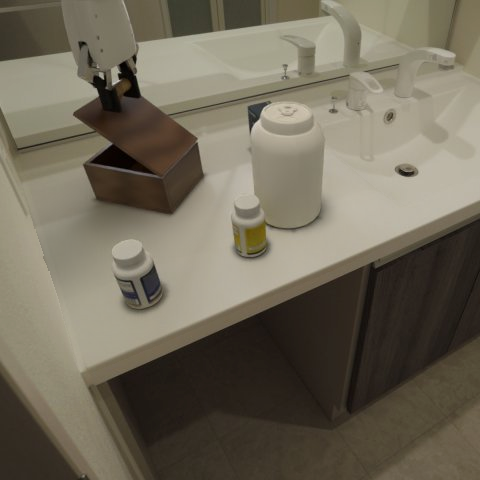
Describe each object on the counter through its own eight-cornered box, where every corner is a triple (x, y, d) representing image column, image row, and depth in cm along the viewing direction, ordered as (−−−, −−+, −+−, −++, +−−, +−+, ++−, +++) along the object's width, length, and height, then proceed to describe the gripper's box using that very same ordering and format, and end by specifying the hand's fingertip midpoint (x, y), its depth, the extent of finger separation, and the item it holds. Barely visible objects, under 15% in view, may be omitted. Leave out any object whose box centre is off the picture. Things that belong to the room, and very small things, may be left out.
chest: (96, 199, 79) (82, 164, 74) (136, 163, 89) (126, 129, 84) (171, 214, 77) (162, 179, 72) (203, 175, 87) (197, 141, 82)
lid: (72, 115, 67) (79, 91, 64) (121, 84, 77) (130, 61, 74) (161, 178, 72) (172, 158, 68) (196, 141, 82) (208, 122, 78)
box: (250, 149, 95) (246, 105, 88) (272, 143, 98) (270, 100, 91) (265, 165, 91) (263, 120, 84) (288, 159, 93) (288, 114, 86)
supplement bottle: (272, 241, 73) (269, 195, 66) (258, 261, 69) (255, 215, 62) (244, 233, 74) (239, 188, 67) (229, 253, 70) (222, 207, 64)
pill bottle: (159, 278, 65) (144, 231, 59) (166, 302, 62) (151, 256, 55) (123, 288, 63) (103, 241, 57) (128, 314, 60) (107, 267, 53)
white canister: (258, 189, 84) (252, 92, 71) (320, 190, 85) (325, 95, 71) (251, 229, 75) (242, 127, 61) (321, 231, 75) (327, 130, 62)
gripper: (101, -31, 66) (130, 82, 79) (21, -9, 54) (71, 122, 66) (144, -26, 65) (167, 88, 77) (72, -2, 53) (113, 129, 65)
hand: (122, 102), depth 72 cm, fingers closed on lid, 5 cm apart
